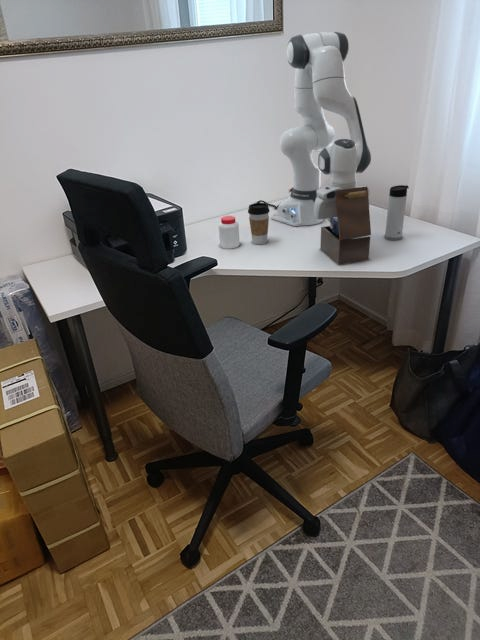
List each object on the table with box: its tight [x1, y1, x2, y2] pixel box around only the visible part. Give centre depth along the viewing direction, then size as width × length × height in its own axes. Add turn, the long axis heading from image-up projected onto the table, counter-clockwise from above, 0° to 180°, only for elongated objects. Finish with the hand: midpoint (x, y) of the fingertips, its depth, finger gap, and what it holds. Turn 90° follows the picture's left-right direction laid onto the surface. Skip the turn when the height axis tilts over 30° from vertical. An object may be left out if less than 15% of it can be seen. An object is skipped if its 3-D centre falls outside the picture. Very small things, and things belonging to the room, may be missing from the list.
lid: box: [335, 185, 372, 240], centre depth 165 cm, size 16×12×5 cm
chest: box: [320, 225, 371, 266], centre depth 177 cm, size 16×12×9 cm
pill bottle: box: [218, 215, 241, 250], centre depth 191 cm, size 8×8×11 cm
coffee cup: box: [247, 202, 271, 245], centre depth 191 cm, size 8×8×15 cm
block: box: [332, 217, 339, 236], centre depth 178 cm, size 5×5×5 cm
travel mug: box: [384, 184, 409, 241], centre depth 186 cm, size 6×7×20 cm
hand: (340, 227), depth 178 cm, fingers closed on block, 5 cm apart
